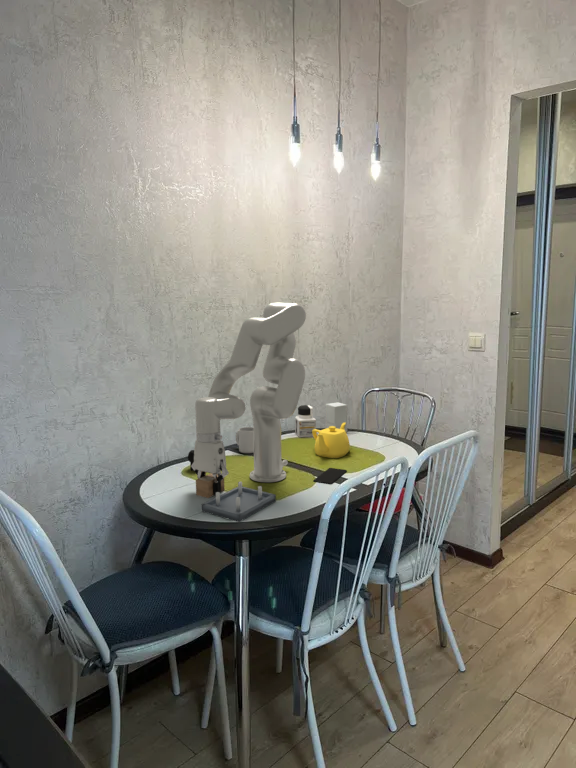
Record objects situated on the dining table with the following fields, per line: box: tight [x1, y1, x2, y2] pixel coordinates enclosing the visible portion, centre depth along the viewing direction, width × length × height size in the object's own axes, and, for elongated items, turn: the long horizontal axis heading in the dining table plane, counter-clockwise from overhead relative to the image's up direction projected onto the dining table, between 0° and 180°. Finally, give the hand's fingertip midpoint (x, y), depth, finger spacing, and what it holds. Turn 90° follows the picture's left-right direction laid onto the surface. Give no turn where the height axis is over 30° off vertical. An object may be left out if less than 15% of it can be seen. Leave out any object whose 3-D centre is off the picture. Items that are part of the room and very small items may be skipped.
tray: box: [201, 481, 277, 523], centre depth 168 cm, size 18×14×5 cm
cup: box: [235, 426, 254, 454], centre depth 224 cm, size 7×10×9 cm
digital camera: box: [187, 449, 195, 472], centre depth 204 cm, size 10×5×7 cm, turn 152°
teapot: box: [312, 422, 351, 459], centre depth 220 cm, size 22×16×11 cm
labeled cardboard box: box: [195, 473, 225, 499], centre depth 179 cm, size 8×5×5 cm, turn 147°
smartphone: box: [312, 467, 348, 485], centre depth 194 cm, size 7×1×15 cm
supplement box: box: [325, 401, 348, 433], centre depth 252 cm, size 7×7×13 cm
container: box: [294, 404, 317, 438], centre depth 247 cm, size 8×8×13 cm
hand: (210, 491), depth 179 cm, fingers closed on labeled cardboard box, 5 cm apart
